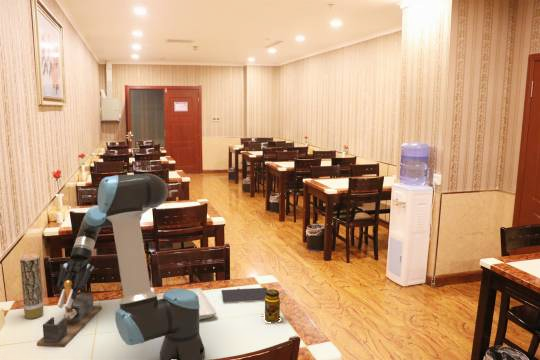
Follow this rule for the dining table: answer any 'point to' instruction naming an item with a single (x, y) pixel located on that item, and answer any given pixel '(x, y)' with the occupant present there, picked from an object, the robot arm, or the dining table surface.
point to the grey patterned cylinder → (31, 285)
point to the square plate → (205, 306)
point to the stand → (69, 323)
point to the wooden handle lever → (69, 312)
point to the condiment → (272, 306)
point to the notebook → (244, 295)
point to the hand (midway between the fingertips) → (63, 306)
